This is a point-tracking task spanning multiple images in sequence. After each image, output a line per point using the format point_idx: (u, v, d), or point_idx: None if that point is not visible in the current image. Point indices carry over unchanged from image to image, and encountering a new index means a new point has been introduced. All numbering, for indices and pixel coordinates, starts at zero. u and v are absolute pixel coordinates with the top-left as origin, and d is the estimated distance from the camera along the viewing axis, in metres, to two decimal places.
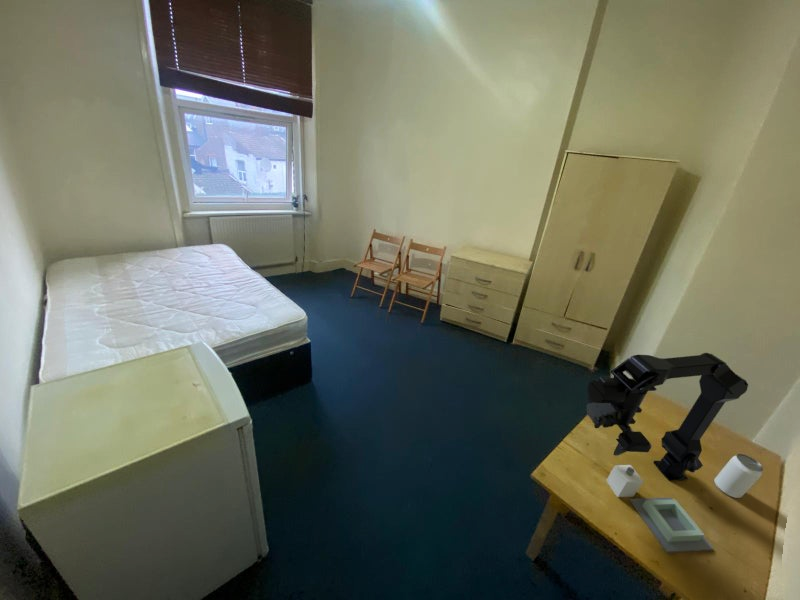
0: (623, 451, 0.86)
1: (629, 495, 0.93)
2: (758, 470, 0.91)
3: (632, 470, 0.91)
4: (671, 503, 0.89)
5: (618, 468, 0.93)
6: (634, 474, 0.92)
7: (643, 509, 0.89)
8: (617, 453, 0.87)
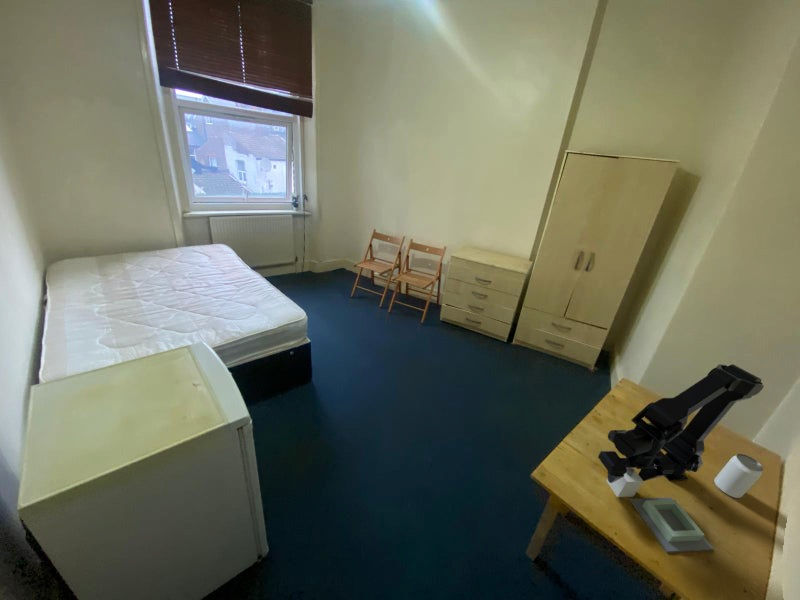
0: (611, 477, 0.91)
1: (629, 495, 0.93)
2: (758, 470, 0.91)
3: (632, 470, 0.91)
4: (671, 503, 0.89)
5: None
6: (634, 474, 0.92)
7: (643, 509, 0.89)
8: (608, 477, 0.93)
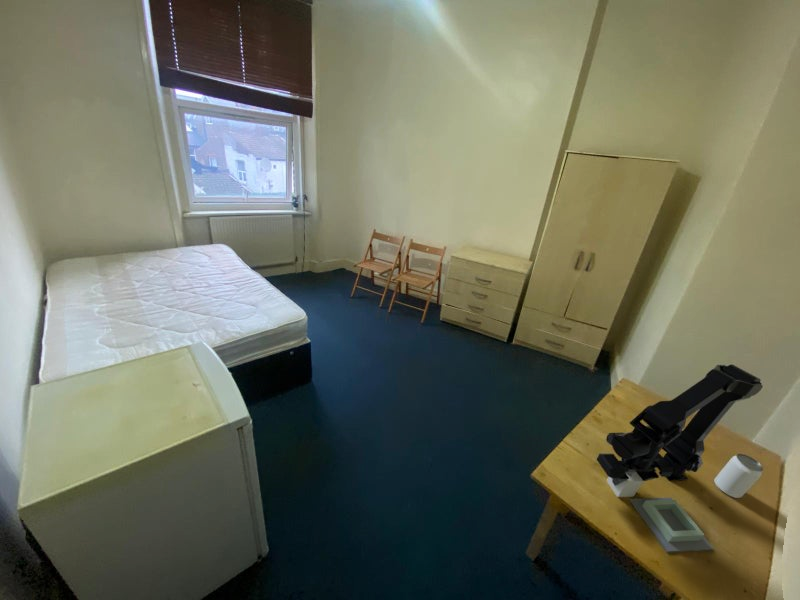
0: (615, 479, 0.92)
1: (629, 495, 0.93)
2: (758, 470, 0.91)
3: (632, 470, 0.91)
4: (671, 503, 0.89)
5: None
6: (634, 474, 0.92)
7: (643, 509, 0.89)
8: (613, 479, 0.93)
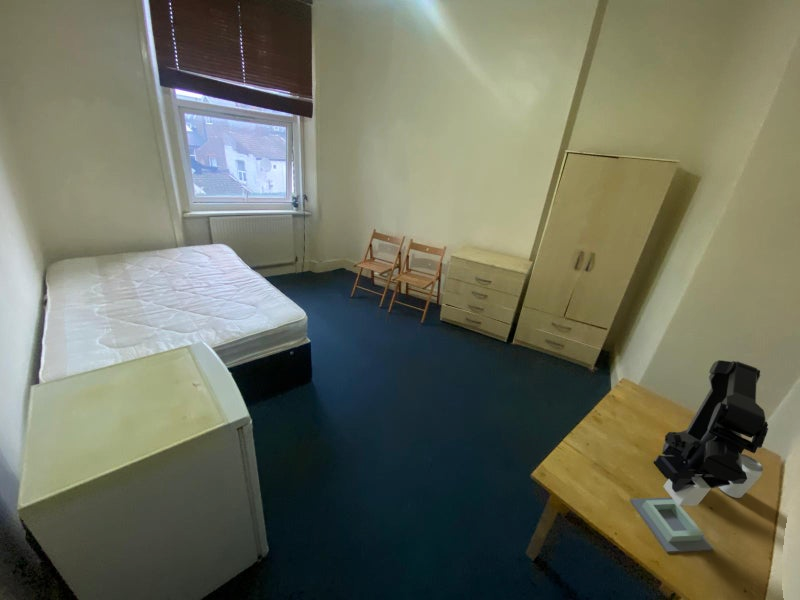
0: (677, 485, 0.80)
1: (692, 503, 0.81)
2: (758, 470, 0.91)
3: (697, 475, 0.79)
4: (671, 503, 0.89)
5: None
6: (699, 480, 0.80)
7: (643, 509, 0.89)
8: (673, 485, 0.82)
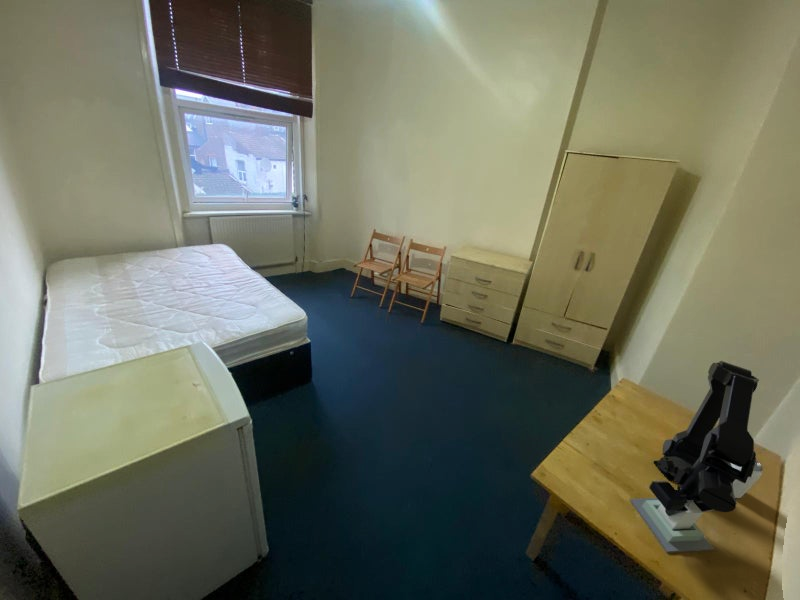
0: (670, 510, 0.83)
1: (684, 527, 0.84)
2: (758, 470, 0.91)
3: None
4: None
5: None
6: (691, 504, 0.83)
7: (643, 509, 0.89)
8: (666, 509, 0.84)
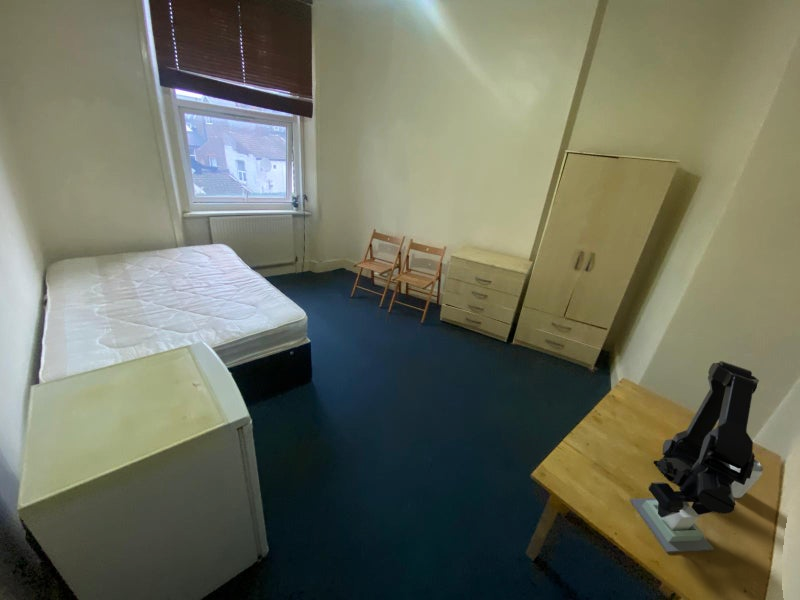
0: (662, 511, 0.83)
1: (682, 530, 0.84)
2: (758, 470, 0.91)
3: (686, 504, 0.83)
4: None
5: None
6: (688, 508, 0.83)
7: (643, 509, 0.89)
8: (659, 511, 0.84)
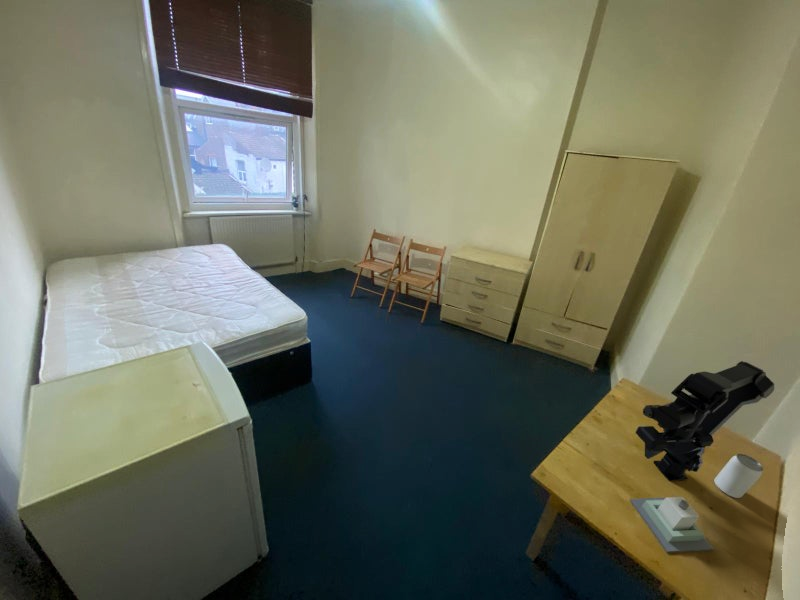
0: (649, 452, 0.90)
1: (682, 530, 0.84)
2: (758, 470, 0.91)
3: (686, 504, 0.83)
4: None
5: (670, 501, 0.85)
6: (688, 508, 0.83)
7: (643, 509, 0.89)
8: (645, 453, 0.91)
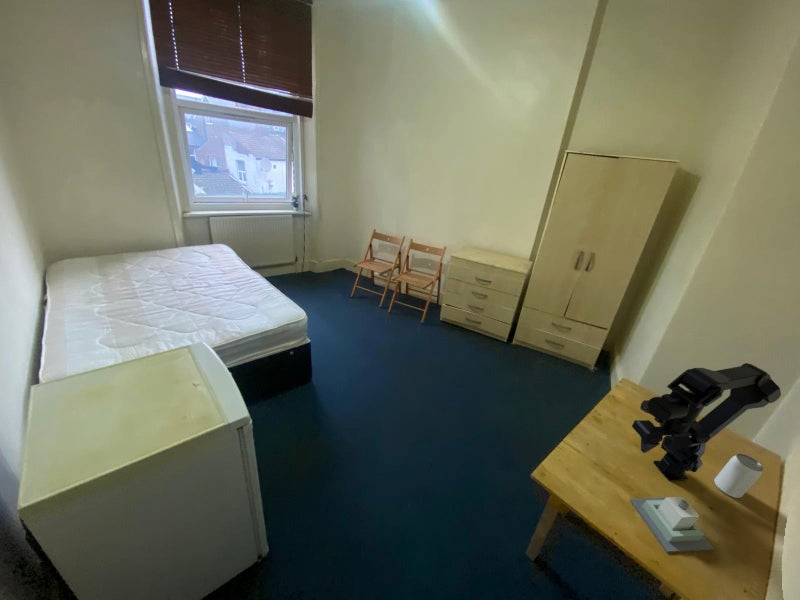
0: (644, 446, 0.91)
1: (682, 530, 0.84)
2: (758, 470, 0.91)
3: (686, 504, 0.83)
4: None
5: (670, 501, 0.85)
6: (688, 508, 0.83)
7: (643, 509, 0.89)
8: (641, 447, 0.93)
